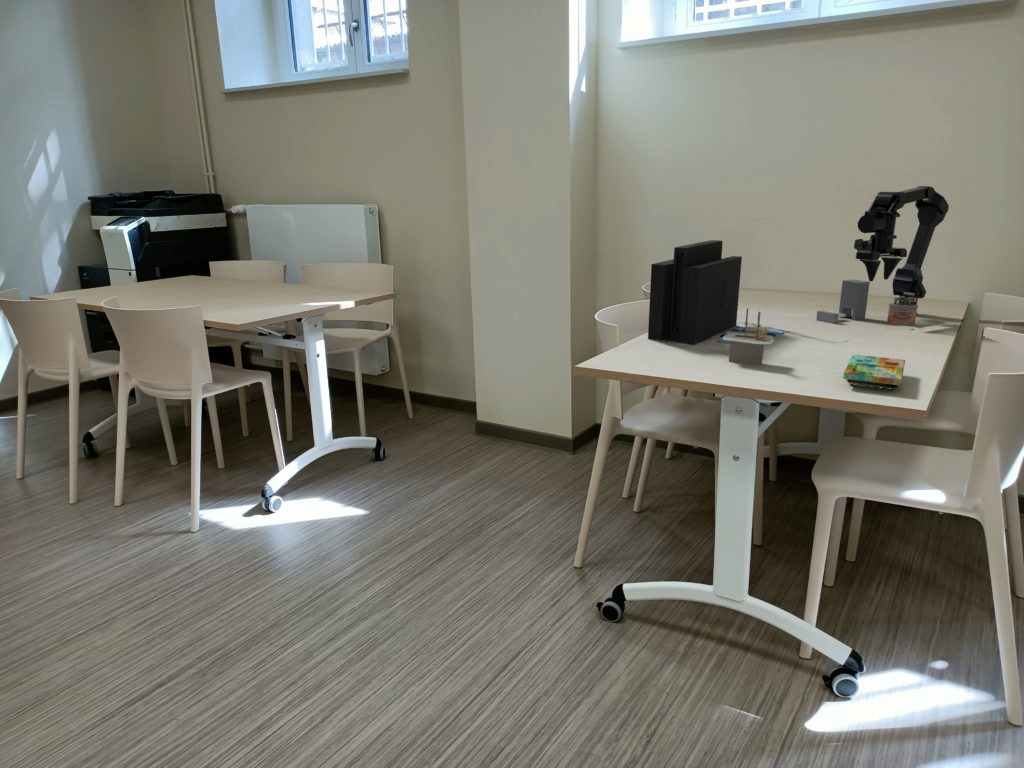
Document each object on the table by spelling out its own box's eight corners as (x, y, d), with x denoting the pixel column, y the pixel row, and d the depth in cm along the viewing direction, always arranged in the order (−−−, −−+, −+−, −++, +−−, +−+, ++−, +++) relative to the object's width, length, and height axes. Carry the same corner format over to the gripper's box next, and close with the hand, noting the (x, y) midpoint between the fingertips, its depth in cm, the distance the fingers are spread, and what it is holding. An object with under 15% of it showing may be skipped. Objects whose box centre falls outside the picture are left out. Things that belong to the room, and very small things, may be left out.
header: (833, 318, 245) (834, 308, 244) (850, 321, 240) (851, 311, 239) (816, 320, 241) (817, 311, 241) (833, 324, 236) (834, 314, 235)
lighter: (885, 327, 237) (889, 296, 234) (886, 326, 239) (890, 294, 237) (914, 330, 233) (919, 298, 230) (914, 328, 236) (919, 296, 233)
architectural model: (710, 350, 209) (713, 299, 205) (804, 361, 197) (810, 307, 193) (686, 366, 192) (689, 311, 188) (788, 379, 180) (794, 321, 176)
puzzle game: (905, 356, 181) (902, 375, 165) (903, 375, 183) (899, 396, 166) (852, 351, 187) (844, 369, 170) (850, 369, 188) (841, 389, 171)
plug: (848, 315, 249) (852, 279, 245) (864, 318, 243) (869, 281, 240) (838, 317, 246) (842, 280, 243) (854, 320, 241) (859, 282, 238)
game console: (694, 320, 249) (699, 238, 242) (787, 331, 232) (796, 243, 225) (647, 339, 221) (652, 247, 214) (749, 353, 205) (758, 253, 197)
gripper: (879, 229, 254) (873, 275, 258) (843, 231, 245) (838, 279, 249) (911, 231, 244) (904, 279, 249) (875, 233, 235) (868, 283, 240)
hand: (878, 280), depth 247 cm, fingers open, 7 cm apart
